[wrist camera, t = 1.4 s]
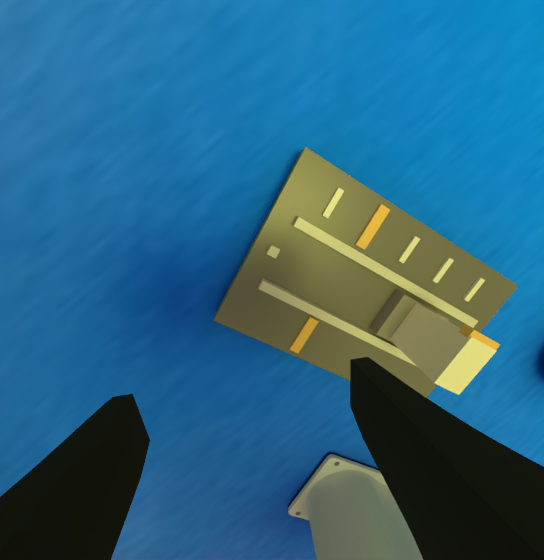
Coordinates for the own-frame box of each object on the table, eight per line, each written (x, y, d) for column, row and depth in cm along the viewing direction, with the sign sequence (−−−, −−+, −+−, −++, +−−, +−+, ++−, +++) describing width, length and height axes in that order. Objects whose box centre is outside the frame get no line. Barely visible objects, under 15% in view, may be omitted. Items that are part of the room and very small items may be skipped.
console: (498, 279, 20) (527, 288, 18) (405, 396, 22) (421, 415, 20) (300, 151, 16) (307, 144, 14) (216, 311, 18) (212, 324, 16)
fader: (440, 310, 18) (516, 353, 13) (412, 348, 19) (472, 403, 14) (398, 286, 17) (460, 322, 12) (369, 327, 18) (417, 376, 13)
